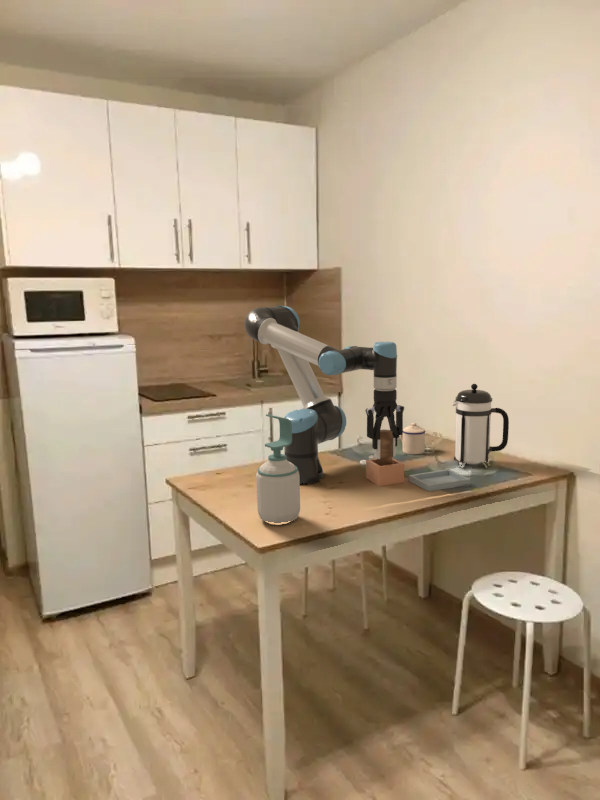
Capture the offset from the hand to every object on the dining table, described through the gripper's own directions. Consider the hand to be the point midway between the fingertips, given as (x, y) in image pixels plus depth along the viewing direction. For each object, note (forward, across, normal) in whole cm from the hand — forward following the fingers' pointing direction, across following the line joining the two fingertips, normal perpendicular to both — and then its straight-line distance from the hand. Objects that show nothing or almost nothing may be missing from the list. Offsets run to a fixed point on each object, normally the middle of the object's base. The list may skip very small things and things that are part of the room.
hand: (384, 456), depth 206 cm
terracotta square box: (+9, 0, 0) cm, 9 cm away
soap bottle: (+9, -44, -17) cm, 48 cm away
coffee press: (+9, +40, +4) cm, 41 cm away
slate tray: (+9, +15, -10) cm, 20 cm away
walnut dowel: (+8, 0, 0) cm, 8 cm away
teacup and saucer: (+9, +6, +20) cm, 23 cm away
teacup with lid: (+9, +28, +29) cm, 41 cm away
